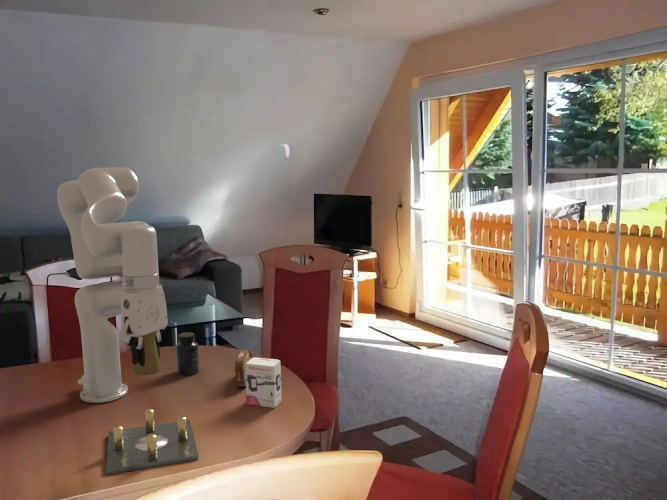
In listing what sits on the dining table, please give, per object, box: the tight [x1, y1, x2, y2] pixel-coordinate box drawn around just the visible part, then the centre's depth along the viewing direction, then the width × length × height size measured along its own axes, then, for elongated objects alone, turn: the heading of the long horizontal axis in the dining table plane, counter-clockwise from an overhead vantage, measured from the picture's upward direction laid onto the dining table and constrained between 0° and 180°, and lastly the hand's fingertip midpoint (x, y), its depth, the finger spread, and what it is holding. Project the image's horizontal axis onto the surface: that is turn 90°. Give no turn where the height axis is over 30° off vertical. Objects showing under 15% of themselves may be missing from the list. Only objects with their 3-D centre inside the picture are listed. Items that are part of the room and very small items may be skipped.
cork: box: [132, 331, 162, 376], centre depth 135 cm, size 6×6×11 cm
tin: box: [234, 349, 253, 388], centre depth 178 cm, size 15×3×8 cm, turn 179°
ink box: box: [245, 356, 282, 409], centre depth 162 cm, size 8×5×12 cm, turn 73°
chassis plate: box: [105, 408, 199, 476], centre depth 139 cm, size 19×19×6 cm
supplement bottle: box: [175, 331, 200, 377], centre depth 186 cm, size 7×7×12 cm
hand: (146, 360), depth 136 cm, fingers closed on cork, 4 cm apart
